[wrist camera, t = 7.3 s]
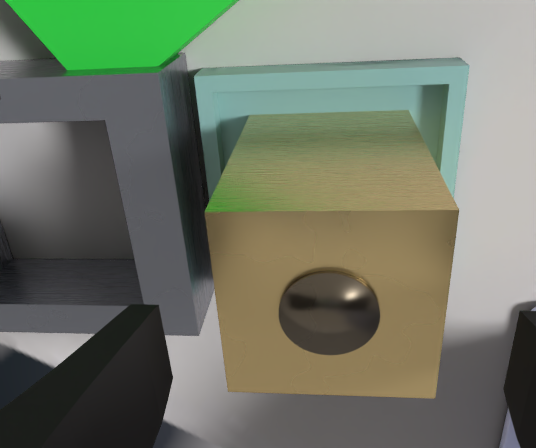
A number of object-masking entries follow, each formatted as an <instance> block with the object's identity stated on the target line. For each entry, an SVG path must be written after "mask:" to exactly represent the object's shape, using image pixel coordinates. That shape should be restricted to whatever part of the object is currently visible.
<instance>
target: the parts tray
mask: <svg viewBox="0 0 536 448" xmlns="http://www.w3.org/2000/svg"><path fill="white" fill-rule="evenodd" d="M468 74H469V65H468V64H467V63H466V62H465V61H463V60H462V59H461V58H438V59H414V60H390V61H366V62H342V63H317V64H293V65H269V66H245V67H220V68H202V69H201V70H200V71H199V72H198V73H197V74H196V75H195V76H194V81H195V89H196V98H197V106H198V114H199V122H200V130H201V138H202V146H203V154H204V162H205V170H206V178H207V186H208V194H209V201H210V199H211V197H212V195H213V193H214V191H215V188H216V186H217V184H218V182H219V180H220V178H221V176H222V173H223V171H224V169H225V167H226V165H227V163H228V161H229V158H230V156H231V154H232V152H233V150H234V148H235V145H236V143H237V141H238V139H239V137H240V135H241V133H242V130H243V128H244V126H245V124H246V122H247V120H248V118H249V115H259V114H292V113H325V112H358V111H390V110H409V112H410V114H411V116H412V118H413V120H414V122H415V124H416V126H417V128H418V130H419V132H420V134H421V136H422V138H423V140H424V142H425V144H426V146H427V148H428V149H429V151H430V153H431V155H432V157H433V159H434V161H435V163H436V165H437V167H438V169H439V171H440V173H441V175H442V177H443V179H444V181H445V183H446V185H447V187H448V189H449V191H450V193H451V195H452V197H453V199H454V190H455V182H456V174H457V165H458V157H459V149H460V140H461V132H462V124H463V115H464V107H465V99H466V90H467V82H468Z"/></svg>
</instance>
